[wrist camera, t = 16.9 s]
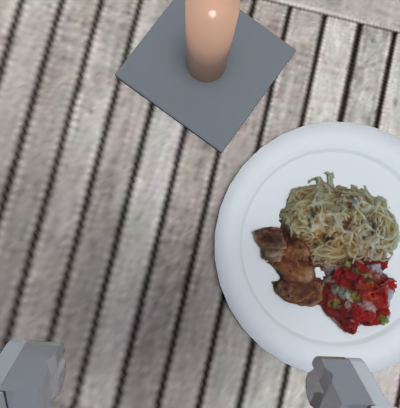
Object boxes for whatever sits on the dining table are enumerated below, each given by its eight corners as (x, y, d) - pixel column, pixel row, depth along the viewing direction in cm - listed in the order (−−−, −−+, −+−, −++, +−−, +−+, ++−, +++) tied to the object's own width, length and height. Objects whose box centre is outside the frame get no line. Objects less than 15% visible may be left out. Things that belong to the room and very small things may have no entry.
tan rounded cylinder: (178, 66, 38) (174, 9, 28) (201, 35, 38) (206, -33, 28) (211, 90, 38) (219, 41, 28) (234, 58, 38) (250, -2, 28)
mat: (116, 76, 38) (115, 74, 37) (192, -21, 39) (192, -25, 38) (221, 153, 38) (221, 151, 37) (294, 52, 39) (295, 50, 38)
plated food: (314, 78, 39) (326, 65, 36) (496, 229, 39) (525, 229, 36) (162, 261, 37) (160, 265, 34) (354, 421, 37) (370, 441, 34)
